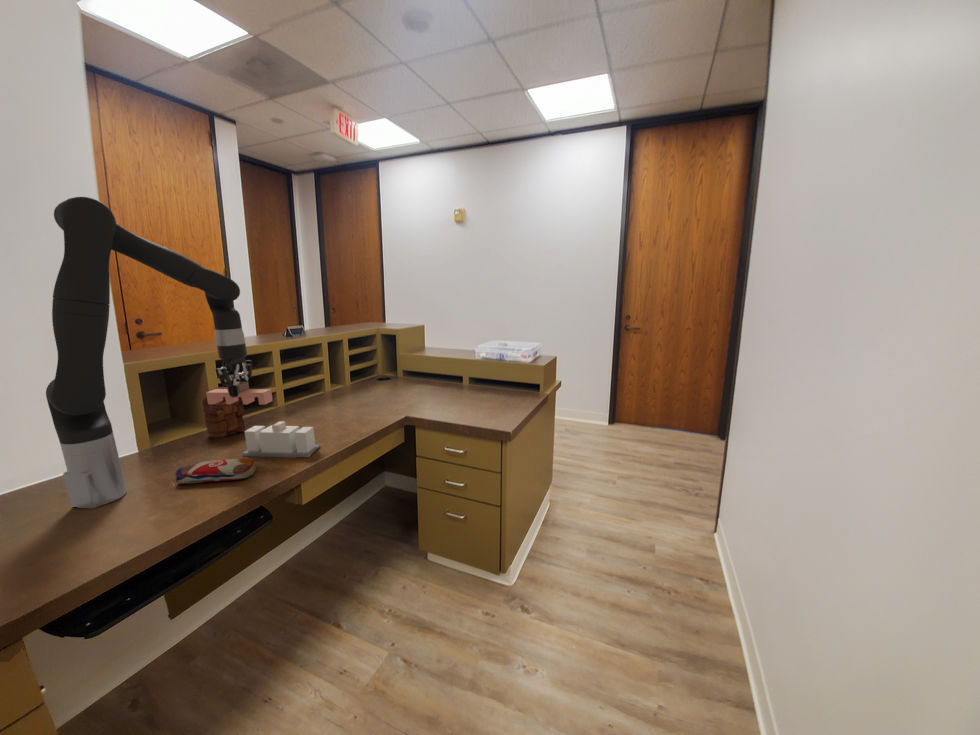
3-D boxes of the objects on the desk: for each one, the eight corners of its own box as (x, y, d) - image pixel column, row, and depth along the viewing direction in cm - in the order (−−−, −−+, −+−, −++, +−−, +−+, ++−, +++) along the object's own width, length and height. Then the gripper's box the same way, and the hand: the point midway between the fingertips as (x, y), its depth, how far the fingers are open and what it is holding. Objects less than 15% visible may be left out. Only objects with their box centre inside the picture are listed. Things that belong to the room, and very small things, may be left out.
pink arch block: (264, 404, 120) (261, 385, 119) (207, 404, 121) (204, 385, 119) (273, 400, 124) (270, 381, 123) (217, 400, 125) (214, 381, 124)
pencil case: (233, 491, 102) (231, 474, 100) (169, 486, 104) (165, 470, 103) (262, 471, 112) (260, 456, 111) (203, 467, 114) (200, 452, 113)
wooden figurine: (210, 440, 134) (201, 392, 130) (207, 435, 139) (199, 388, 135) (248, 431, 142) (241, 386, 138) (244, 427, 147) (237, 382, 143)
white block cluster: (307, 457, 120) (304, 428, 118) (242, 456, 122) (238, 427, 120) (320, 447, 128) (317, 419, 126) (258, 445, 129) (254, 418, 127)
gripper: (226, 346, 111) (235, 401, 115) (257, 339, 125) (264, 388, 129) (201, 346, 111) (211, 401, 115) (235, 339, 125) (243, 388, 129)
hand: (239, 394), depth 122 cm, fingers closed on pink arch block, 4 cm apart
